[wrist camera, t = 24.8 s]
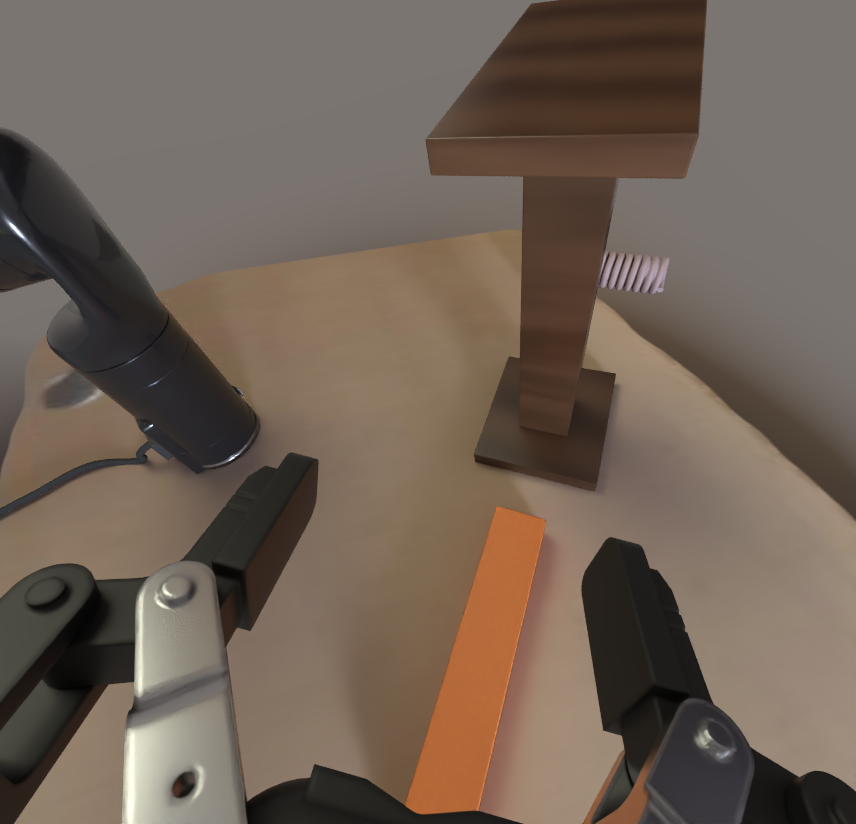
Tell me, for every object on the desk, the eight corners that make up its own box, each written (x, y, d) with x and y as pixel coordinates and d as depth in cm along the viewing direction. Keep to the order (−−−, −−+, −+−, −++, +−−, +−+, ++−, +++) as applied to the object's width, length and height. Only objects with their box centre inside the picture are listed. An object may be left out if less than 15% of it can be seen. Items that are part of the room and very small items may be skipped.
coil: (675, 250, 52) (531, 237, 59) (672, 269, 50) (522, 253, 56) (664, 283, 56) (529, 268, 62) (660, 303, 53) (521, 284, 59)
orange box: (456, 902, 26) (451, 921, 24) (393, 863, 28) (382, 876, 25) (544, 531, 39) (546, 519, 37) (497, 518, 40) (496, 505, 38)
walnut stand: (590, 514, 39) (734, 133, 14) (467, 482, 43) (402, 139, 18) (616, 366, 49) (729, -22, 23) (513, 350, 53) (515, 5, 27)
